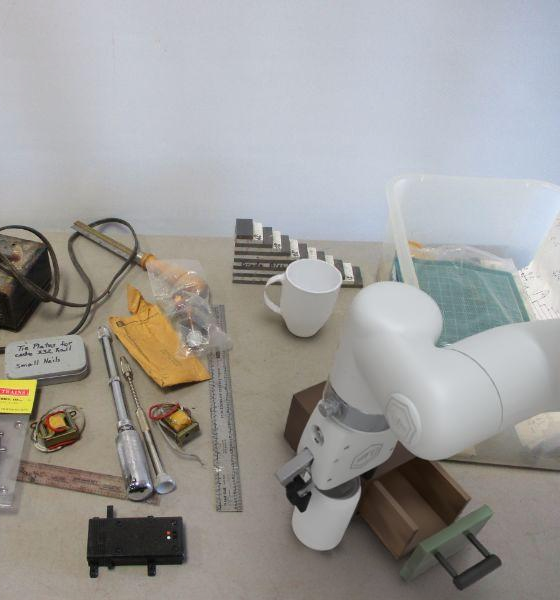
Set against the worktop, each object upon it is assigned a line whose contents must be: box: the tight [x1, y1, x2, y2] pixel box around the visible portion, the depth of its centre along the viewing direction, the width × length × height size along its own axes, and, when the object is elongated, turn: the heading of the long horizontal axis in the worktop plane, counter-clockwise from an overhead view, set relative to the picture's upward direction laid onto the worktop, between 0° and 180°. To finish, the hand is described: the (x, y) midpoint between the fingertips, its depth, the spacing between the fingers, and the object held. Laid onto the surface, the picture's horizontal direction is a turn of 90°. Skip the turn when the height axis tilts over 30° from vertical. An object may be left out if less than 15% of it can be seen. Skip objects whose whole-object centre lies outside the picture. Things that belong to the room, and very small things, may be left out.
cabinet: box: [282, 379, 419, 522], centre depth 79 cm, size 15×12×10 cm
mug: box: [263, 258, 343, 338], centre depth 98 cm, size 12×9×12 cm
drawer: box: [358, 457, 503, 591], centre depth 71 cm, size 18×10×8 cm, turn 27°
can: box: [291, 470, 361, 551], centre depth 71 cm, size 6×6×12 cm
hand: (329, 484), depth 69 cm, fingers open, 9 cm apart
